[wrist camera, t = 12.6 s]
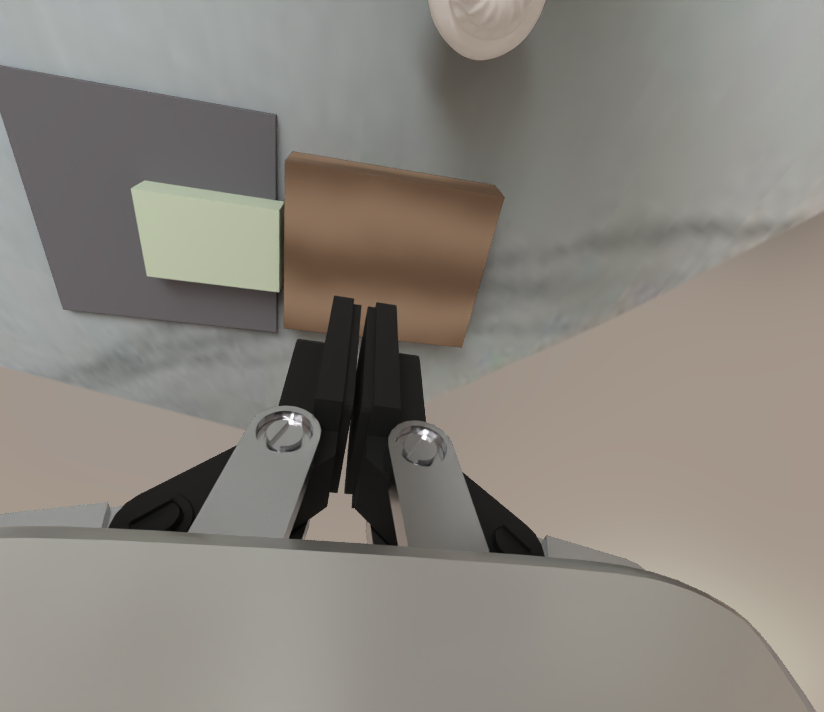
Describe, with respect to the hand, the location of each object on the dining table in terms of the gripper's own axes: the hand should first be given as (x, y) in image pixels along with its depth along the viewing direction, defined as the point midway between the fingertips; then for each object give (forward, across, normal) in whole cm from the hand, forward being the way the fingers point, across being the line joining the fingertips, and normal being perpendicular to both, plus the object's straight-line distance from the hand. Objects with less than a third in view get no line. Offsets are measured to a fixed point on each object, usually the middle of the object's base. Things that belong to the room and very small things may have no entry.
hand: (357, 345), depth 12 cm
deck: (+22, -2, +7) cm, 23 cm away
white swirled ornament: (+23, -4, -10) cm, 25 cm away
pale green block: (+20, +10, +7) cm, 23 cm away
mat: (+22, +14, +7) cm, 27 cm away
